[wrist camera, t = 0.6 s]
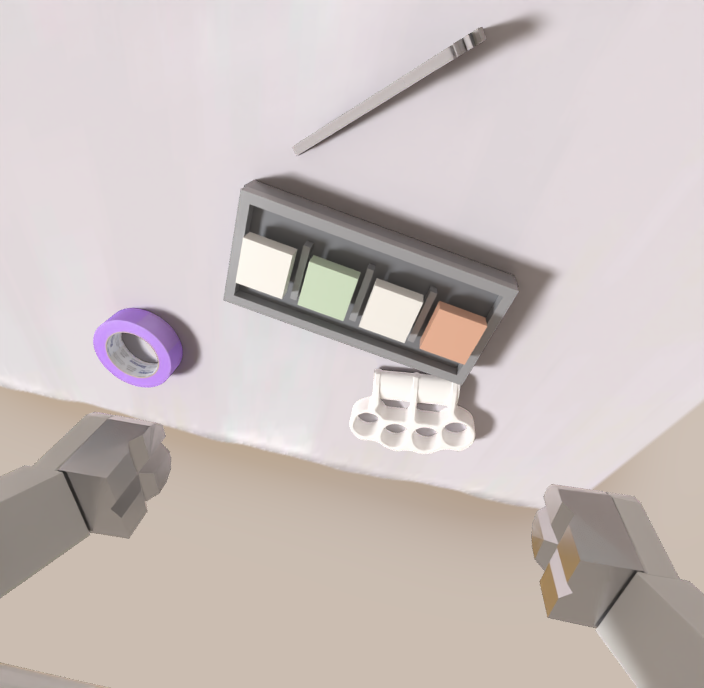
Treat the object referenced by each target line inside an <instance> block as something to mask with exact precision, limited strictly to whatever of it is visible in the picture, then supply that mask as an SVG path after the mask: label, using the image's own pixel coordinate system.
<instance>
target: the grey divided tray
mask: <svg viewBox="0 0 704 688" xmlns="http://www.w3.org/2000/svg"><path fill="white" fill-rule="evenodd" d="M249 232H252V233H254V234H257V235H260V236H263V237H265V238H268V239H271V240H274V241H276V242H279V243H282V244H285V245H287V246H290V247H293V248H296V249H297V253H296V257H295V261H294V265H293V269H292V273H291V277H290V281H289V285H288V289H287V292H286V294H285V295H284V297H283V298H282V299H280V298H277V297H274V296H272V295H269V294H266V293H263V292H260V291H258V290H255V289H252V288H249V287H247V286H244V285H241V284H238V283H235V282H236V276H237V270H238V265H239V259H240V253H241V247H242V241H243V237H244V236H246V235H247V234H248V233H249ZM313 255H315V256H318V257H320V258H323V259H326V260H329V261H331V262H334V263H337V264H340V265H342V266H345V267H348V268H351V269H353V270H356V271H359V272H361V273H360V276H359V279H358V282H357V284H356V287H355V290H354V293H353V296H352V299H351V301H350V304H349V307H348V310H347V313H346V315H345V318H344V321H341V320H338V319H336V318H333V317H330V316H327V315H324V314H322V313H319V312H316V311H313V310H311V309H308V308H305V307H302V306H299V305H298V301H299V297H300V294H301V290H302V286H303V283H304V279H305V275H306V272H307V268H308V264H309V261H310V260H311V258H312V257H313ZM377 278H378V279H381V280H384V281H386V282H389V283H392V284H395V285H397V286H400V287H403V288H406V289H408V290H411V291H414V292H417V293H419V294H422V295H423V304H422V306H421V309H420V311H419V313H418V315H417V317H416V319H415V321H414V323H413V326H412V328H411V330H410V332H409V334H408V336H407V338H406V341H405V343H402V342H400V341H397V340H394V339H391V338H388V337H386V336H383V335H380V334H377V333H375V332H372V331H369V330H366V329H363V328H361V327H359V325H360V321H361V318H362V315H363V313H364V310H365V308H366V305H367V302H368V300H369V297H370V294H371V292H372V289H373V287H374V284H375V281H376V279H377ZM518 292H519V290H518V284H517V281H516V279H515V276H514V275H511V274H509V273H506V272H503V271H500V270H498V269H495V268H492V267H490V266H487V265H484V264H481V263H479V262H476V261H473V260H471V259H468V258H465V257H462V256H460V255H457V254H454V253H452V252H449V251H446V250H443V249H441V248H438V247H435V246H432V245H430V244H427V243H424V242H422V241H419V240H416V239H413V238H411V237H408V236H405V235H403V234H400V233H397V232H394V231H392V230H389V229H386V228H384V227H381V226H378V225H375V224H373V223H370V222H367V221H365V220H362V219H359V218H356V217H354V216H351V215H348V214H346V213H343V212H340V211H337V210H335V209H332V208H329V207H326V206H324V205H321V204H318V203H316V202H313V201H310V200H307V199H305V198H302V197H299V196H297V195H294V194H291V193H288V192H286V191H283V190H280V189H278V188H275V187H272V186H269V185H267V184H264V183H261V182H259V181H256V180H253V181H251V182H249V183H248V184H246V185H244V188H242V189H241V191H240V197H239V203H238V210H237V216H236V222H235V229H234V235H233V242H232V248H231V254H230V261H229V267H228V274H227V280H226V286H225V293H224V299H223V300H224V301H227V302H229V303H232V304H235V305H238V306H241V307H243V308H246V309H249V310H252V311H255V312H257V313H260V314H263V315H266V316H269V317H271V318H274V319H277V320H280V321H283V322H285V323H288V324H291V325H294V326H297V327H299V328H302V329H305V330H308V331H311V332H313V333H316V334H319V335H322V336H325V337H327V338H330V339H333V340H336V341H339V342H341V343H344V344H347V345H350V346H352V347H355V348H358V349H361V350H364V351H366V352H369V353H372V354H375V355H378V356H380V357H383V358H386V359H389V360H392V361H394V362H397V363H400V364H403V365H406V366H408V367H411V368H414V369H417V370H420V371H422V372H425V373H428V374H431V375H434V376H436V377H439V378H442V379H445V380H448V381H450V382H453V383H456V384H459V385H461V386H462V385H463V383H464V381H465V380H466V378H467V376H468V375H469V373H470V371H471V370H472V368H473V366H474V365H475V363H476V361H477V360H478V358H479V357H480V355H481V353H482V352H483V350H484V348H485V347H486V345H487V343H488V342H489V340H490V338H491V337H492V335H493V333H494V332H495V330H496V328H497V327H498V325H499V324H500V322H501V320H502V319H503V317H504V315H505V314H506V312H507V310H508V309H509V307H510V305H511V304H512V302H513V300H514V299H515V297H516V295H517V294H518ZM439 301H441V302H444V303H447V304H450V305H452V306H455V307H458V308H461V309H463V310H466V311H469V312H472V313H474V314H477V315H480V316H483V317H485V318H486V322H487V328H486V329H485V331H484V333H483V335H482V336H481V338H480V340H479V341H478V343H477V345H476V346H475V348H474V350H473V352H472V353H471V355H470V357H469V358H468V360H467V362H466V363H465V365H464V364H461V363H458V362H455V361H452V360H450V359H447V358H444V357H441V356H439V355H436V354H433V353H430V352H427V351H425V350H422V349H420V339H421V337H422V335H423V333H424V331H425V329H426V327H427V325H428V323H429V321H430V319H431V317H432V315H433V312H434V310H435V308H436V306H437V304H438V302H439Z"/></svg>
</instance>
